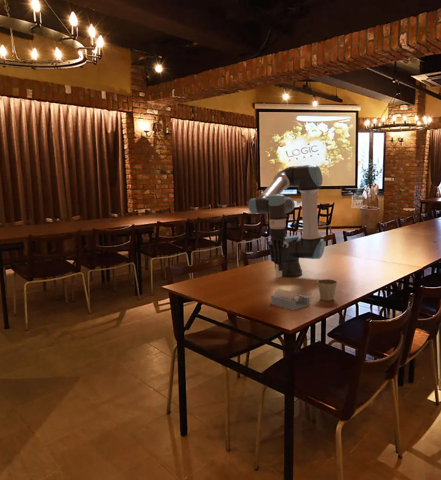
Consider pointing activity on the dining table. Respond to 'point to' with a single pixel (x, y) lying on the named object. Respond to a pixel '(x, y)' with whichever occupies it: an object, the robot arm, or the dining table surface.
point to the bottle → (288, 295)
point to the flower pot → (327, 289)
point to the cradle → (290, 302)
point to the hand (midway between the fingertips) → (278, 276)
